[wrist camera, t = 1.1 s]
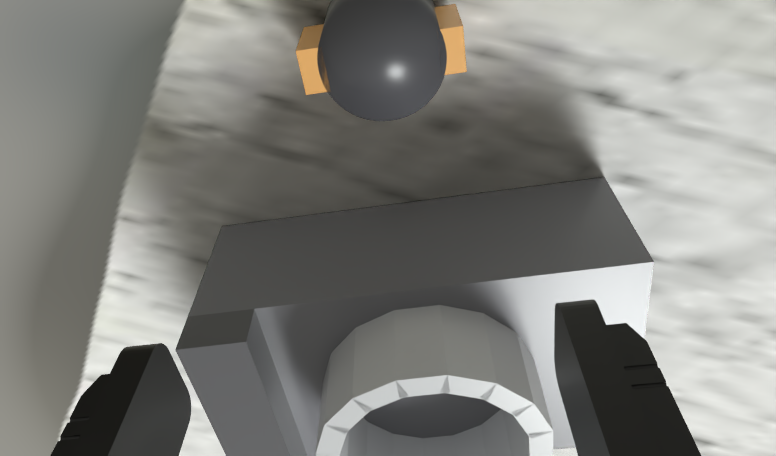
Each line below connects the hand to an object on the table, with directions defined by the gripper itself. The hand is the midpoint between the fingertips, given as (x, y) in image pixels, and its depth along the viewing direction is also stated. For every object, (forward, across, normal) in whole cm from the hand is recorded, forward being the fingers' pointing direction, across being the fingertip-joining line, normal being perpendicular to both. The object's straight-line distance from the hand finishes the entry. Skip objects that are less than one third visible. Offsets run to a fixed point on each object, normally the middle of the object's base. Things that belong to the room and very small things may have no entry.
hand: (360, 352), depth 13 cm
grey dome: (+18, 0, -1) cm, 18 cm away
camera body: (+18, 0, +14) cm, 23 cm away
